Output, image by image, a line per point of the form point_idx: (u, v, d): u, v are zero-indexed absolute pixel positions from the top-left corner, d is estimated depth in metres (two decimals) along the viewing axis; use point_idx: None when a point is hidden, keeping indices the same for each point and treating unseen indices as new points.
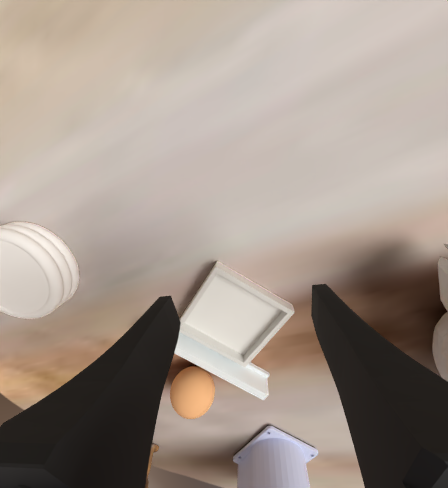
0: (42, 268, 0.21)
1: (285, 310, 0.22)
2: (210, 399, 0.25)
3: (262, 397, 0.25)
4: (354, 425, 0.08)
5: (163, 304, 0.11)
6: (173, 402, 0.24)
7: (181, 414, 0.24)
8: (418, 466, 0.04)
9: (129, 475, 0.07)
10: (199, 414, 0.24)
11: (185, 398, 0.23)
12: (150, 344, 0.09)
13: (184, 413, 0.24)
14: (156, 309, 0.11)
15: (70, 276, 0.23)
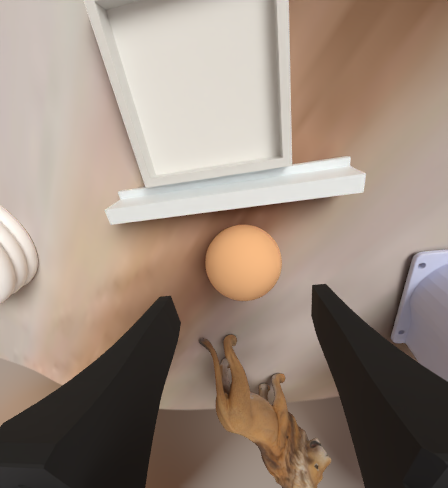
0: None
1: None
2: (268, 248, 0.13)
3: (357, 187, 0.12)
4: (354, 425, 0.08)
5: (163, 304, 0.11)
6: (216, 286, 0.14)
7: (237, 294, 0.13)
8: (417, 465, 0.04)
9: (129, 475, 0.07)
10: (264, 277, 0.13)
11: (223, 265, 0.13)
12: (150, 344, 0.09)
13: (238, 289, 0.13)
14: (156, 309, 0.11)
15: None
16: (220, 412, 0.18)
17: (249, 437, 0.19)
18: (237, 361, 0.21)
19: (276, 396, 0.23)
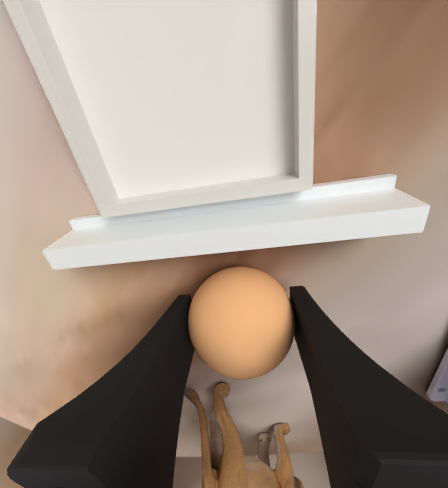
0: None
1: None
2: (278, 309, 0.09)
3: (414, 224, 0.08)
4: (321, 425, 0.08)
5: (183, 302, 0.11)
6: (203, 360, 0.10)
7: (232, 375, 0.09)
8: (360, 464, 0.05)
9: (159, 476, 0.07)
10: (271, 355, 0.09)
11: (211, 337, 0.09)
12: (173, 343, 0.09)
13: (234, 371, 0.09)
14: (177, 307, 0.10)
15: None
16: None
17: None
18: (230, 422, 0.16)
19: (279, 457, 0.18)
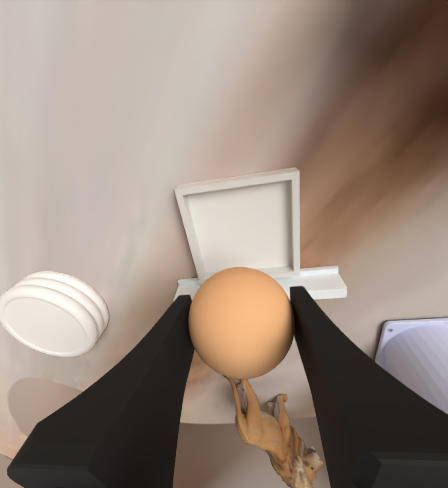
0: (52, 303, 0.21)
1: (286, 177, 0.16)
2: (277, 309, 0.09)
3: (342, 294, 0.19)
4: (321, 425, 0.08)
5: (183, 303, 0.11)
6: (203, 360, 0.10)
7: (233, 375, 0.09)
8: (360, 464, 0.05)
9: (159, 476, 0.07)
10: (272, 354, 0.09)
11: (211, 338, 0.09)
12: (173, 343, 0.09)
13: (235, 371, 0.09)
14: (177, 308, 0.10)
15: (85, 297, 0.23)
16: (240, 429, 0.25)
17: (261, 446, 0.26)
18: (251, 389, 0.27)
19: (280, 413, 0.29)
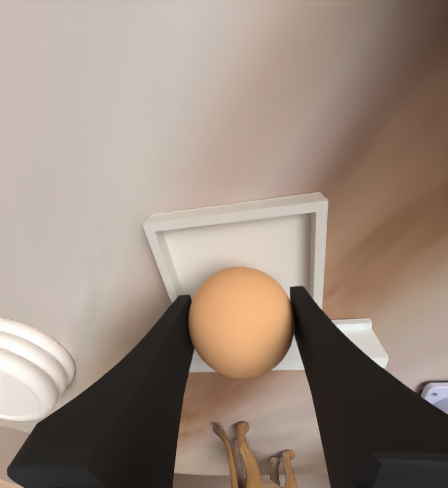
0: None
1: (308, 209, 0.11)
2: (277, 309, 0.09)
3: (380, 364, 0.14)
4: (321, 425, 0.08)
5: (183, 303, 0.11)
6: (203, 360, 0.10)
7: (233, 375, 0.09)
8: (360, 464, 0.05)
9: (159, 476, 0.07)
10: (272, 354, 0.09)
11: (211, 337, 0.09)
12: (173, 343, 0.09)
13: (235, 371, 0.09)
14: (177, 308, 0.10)
15: (38, 351, 0.18)
16: None
17: None
18: (250, 454, 0.22)
19: (287, 479, 0.24)
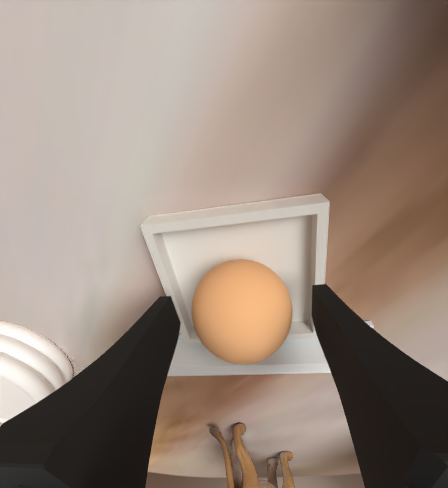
0: None
1: (309, 211, 0.10)
2: (276, 297, 0.10)
3: None
4: (354, 425, 0.08)
5: (163, 304, 0.11)
6: (206, 347, 0.10)
7: (234, 360, 0.10)
8: (417, 465, 0.04)
9: (129, 475, 0.07)
10: (270, 339, 0.09)
11: (214, 324, 0.09)
12: (150, 344, 0.09)
13: (236, 355, 0.09)
14: (156, 309, 0.11)
15: (35, 354, 0.17)
16: None
17: None
18: (247, 456, 0.22)
19: (285, 480, 0.24)
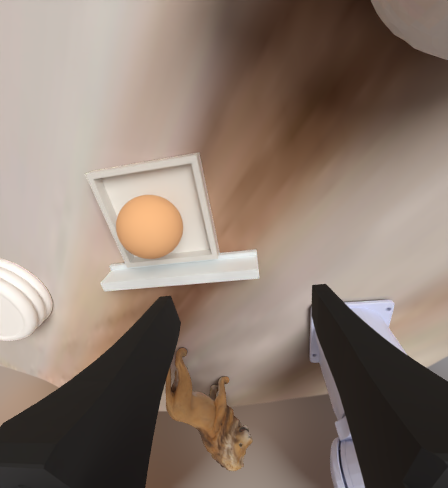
0: None
1: (186, 161, 0.17)
2: (162, 211, 0.16)
3: (255, 275, 0.20)
4: (354, 425, 0.08)
5: (163, 304, 0.11)
6: (123, 245, 0.17)
7: (137, 249, 0.16)
8: (417, 465, 0.04)
9: (129, 475, 0.07)
10: (156, 234, 0.16)
11: (123, 225, 0.16)
12: (150, 344, 0.09)
13: (136, 244, 0.16)
14: (156, 309, 0.11)
15: (22, 281, 0.24)
16: (167, 406, 0.25)
17: (191, 424, 0.27)
18: (184, 368, 0.28)
19: (218, 394, 0.30)
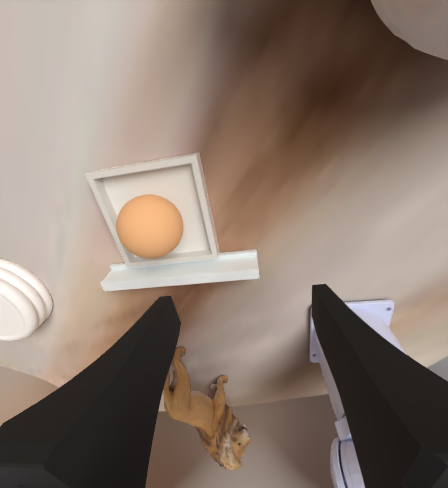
0: None
1: (186, 161, 0.17)
2: (163, 210, 0.16)
3: (255, 275, 0.20)
4: (354, 425, 0.08)
5: (163, 304, 0.11)
6: (123, 245, 0.17)
7: (138, 249, 0.16)
8: (417, 465, 0.04)
9: (129, 475, 0.07)
10: (157, 233, 0.16)
11: (123, 224, 0.16)
12: (150, 344, 0.09)
13: (137, 244, 0.16)
14: (156, 309, 0.11)
15: (22, 281, 0.24)
16: (165, 405, 0.25)
17: (190, 423, 0.26)
18: (183, 367, 0.28)
19: (217, 393, 0.30)
